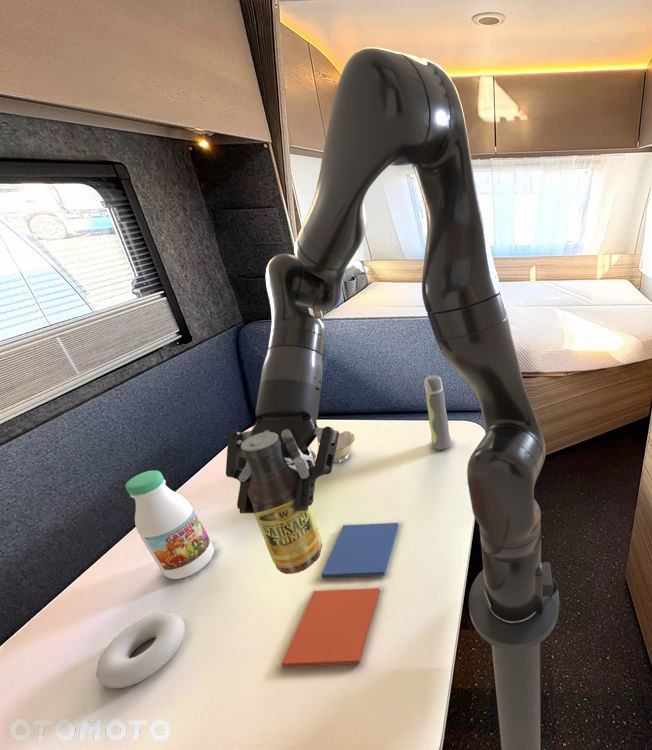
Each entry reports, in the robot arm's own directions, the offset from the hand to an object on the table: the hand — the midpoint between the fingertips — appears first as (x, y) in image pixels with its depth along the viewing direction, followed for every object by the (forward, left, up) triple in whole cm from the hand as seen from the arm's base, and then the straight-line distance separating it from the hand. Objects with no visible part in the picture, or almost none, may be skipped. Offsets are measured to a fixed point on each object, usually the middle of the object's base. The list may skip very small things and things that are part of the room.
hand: (274, 511), depth 48 cm
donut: (+25, +2, -25) cm, 36 cm away
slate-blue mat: (-2, -15, -25) cm, 29 cm away
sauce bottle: (0, -2, -11) cm, 11 cm away
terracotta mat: (-2, -1, -25) cm, 25 cm away
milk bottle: (+30, -14, -25) cm, 42 cm away
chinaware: (+20, -38, -25) cm, 50 cm away
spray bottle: (-13, -47, -25) cm, 55 cm away
